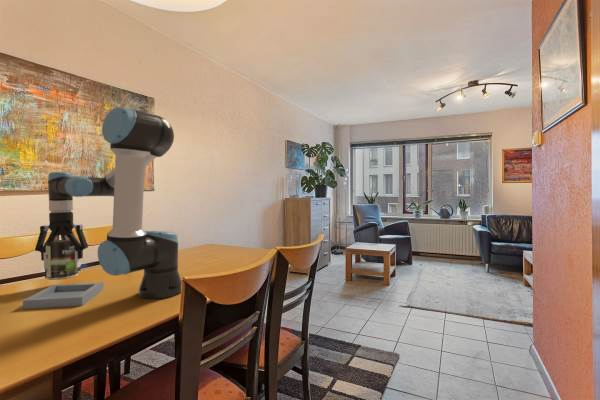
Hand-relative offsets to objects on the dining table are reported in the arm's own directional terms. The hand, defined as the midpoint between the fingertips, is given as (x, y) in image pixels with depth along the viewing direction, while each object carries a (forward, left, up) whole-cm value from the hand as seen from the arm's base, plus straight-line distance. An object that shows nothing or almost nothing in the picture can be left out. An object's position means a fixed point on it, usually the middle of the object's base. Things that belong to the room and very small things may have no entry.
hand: (62, 267), depth 124 cm
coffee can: (0, 0, -4) cm, 4 cm away
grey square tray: (-9, +16, -7) cm, 19 cm away
